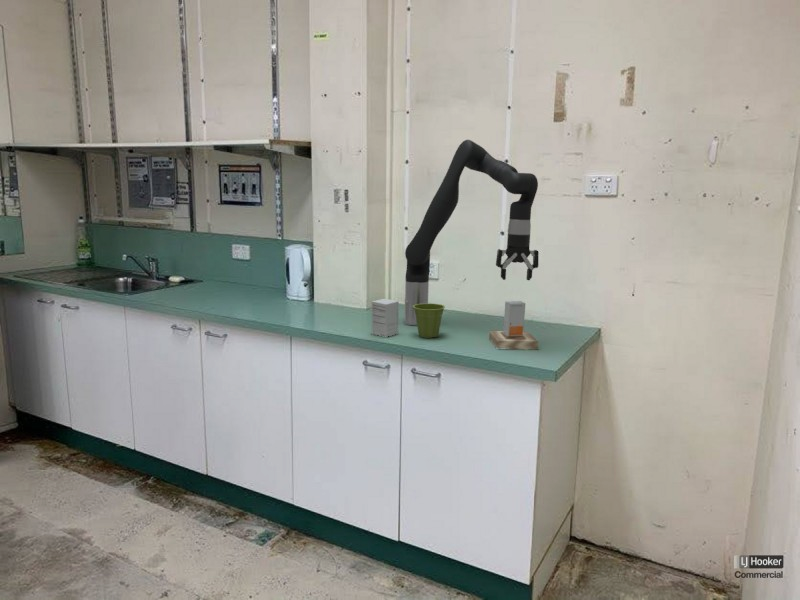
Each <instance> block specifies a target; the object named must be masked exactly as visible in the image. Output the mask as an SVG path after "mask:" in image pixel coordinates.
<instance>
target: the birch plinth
mask: <svg viewBox="0 0 800 600" xmlns="http://www.w3.org/2000/svg"><path fill="white" fill-rule="evenodd" d="M488 332H489V334H488V335H489V336H488V337H489V338H488V339H489V341H490V340H491V341H492V342H491V341H490V342H491V344H492V345H493V344H494V345H495V346H496V347H497V348H505V349H538V348H539V340H537V338H535V337H534V336H533V335H532V334H531V333H530V332H529V331H528V330H523V336H513V337H507V336H506V335H504V334H503V330H489V331H488ZM494 345H493V346H494ZM495 346H494V347H495ZM496 347H495V348H496ZM538 350H539V349H538Z"/></svg>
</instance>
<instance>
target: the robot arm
mask: <svg viewBox="0 0 800 600" xmlns="http://www.w3.org/2000/svg"><path fill="white" fill-rule="evenodd" d="M465 168H467V169H469V170H472V171H475V172H479V173H482V174H486V175H488V176H489V177H490V178H491V179H492V180H494V181H495V182H497V183H499V184H500V185H502V187H503V188H504V189H505V190H506V191H507V192H508V193H509V194H512V195H520V197H519V199H518V200H517V201H513V202H512V203H511V204H510V206H509V217H508V218H509V221H508V226H507V238H506V239H507V243H506V249H500V248H499V249H497V252H496V259H495V260H496V261H495V266H496V267H498V268H500V278H501V279H502V280H503V281H506V279H507V277H506V276H507V267H508V266H509V265H510V264H511V263H516V264H517V263H521V264H522V263H524V264H525V265H526V267H527V268H526V281H531V279H532V278H533V270H535V269H538V268H539V251H538V250H537V249H533V250H530V245H531V244H530V243H531V241H530V240H531V227H532V226H531V217H532V216H531V215H532V208H533V207H532V206H533V204H534V201H535V198H536V195H537V191H538V187H539V181H538V179H537V176H536V175H535V174H534V173H531V172H530V173H529V172H528V173H527V172H519V171H518V170H517V169H516V168H515V167H514V166H513V165H510V164H509V163H507V162H505V161H502V160H499V159H496V158H494V156H492V155H491V154H490V153H489V152H488V151H487V150H486V149H485V148H483V147H482V146H481V145H479V144H478V143H476V142H474V141H473V140H471V139H465V140H463V141H462V142H461V143H460V144H459V145H458V147H457V148H456V151H455V152H454V155H453V157H452V160H451V161H450V164H449V167H448V168H447V172H446V174H445V176H444V178H443V179H442V182H441V183H440V186H439V187H438V189H437V190H436V192H435V195H434V196H433V197H432V200H431V202H430V204H429V206H428V208H427V210H426V211H425V215H424V216H423V219H422V222H421V224H420V227H419V229H418V231H417V232H416V234H414V236H413V238H412V240H411V241H410V242H409V244H408V245H407V246H406V249H405V252H404V255H405V259H406V271H405V285H404V286H405V287H404V288H405V290H404V292H405V294H404V312H403V313H404V314H403V315H404V316H403V318H404V319H403V320H404V325H409V326H417V320H416V314H415V310H414V308H413V305H416V304H424V303H429V286H430V285H429V282H430V280H429V279H430V278H429V277H430V266H431V249H432V247H433V244H434V243H435V240H436V239H437V237H438V235H439V234H440V232H441V231H442V230H443V228H444V227H445V226H446V224H447V222H448V221H449V219H450V218H451V217H452V215H453V213H454V211H455V209H456V207H457V205H458V202H459V195H460V192H459V191H460V178H461V176H462V173H463V171H464V169H465ZM505 255H506V256H507V257H506V258H505V260H504V261H503V262H502V257H504V256H505ZM530 255H531V256H532V263H531V262H530V260H529V259H528V258H529V256H530Z"/></svg>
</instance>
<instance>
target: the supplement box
mask: <svg viewBox="0 0 800 600" xmlns="http://www.w3.org/2000/svg"><path fill="white" fill-rule="evenodd" d="M399 304H400V303H399V301H398V300H394V299H389V298H382V299H377V300H374V301H373V300H372V301H371V335H373V334H375V335H374V336H377V335H379V336H378V337H381V336H384V337H383V338H388V336H389V337H392V335H393V336H396V335H398V334H399ZM395 334H396V335H395Z"/></svg>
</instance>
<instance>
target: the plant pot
mask: <svg viewBox="0 0 800 600" xmlns="http://www.w3.org/2000/svg"><path fill="white" fill-rule="evenodd" d="M413 308H414V310H415V314H416V320H417V325H416V327H417V330H418V336H419V337H421V338H423V337H425V339H426V338H427V339H431V338H438V337H439V333H440V328H441V322H442V315H443V314H444V309H446V306H445V305H443V304H440V303H431V302H428V303H424V304H416V305H413Z"/></svg>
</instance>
